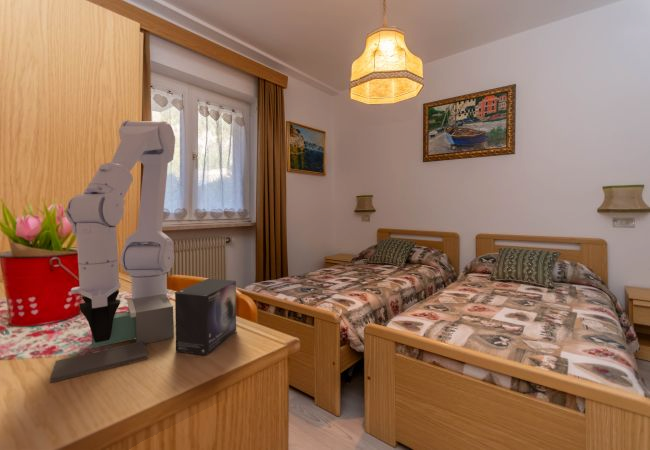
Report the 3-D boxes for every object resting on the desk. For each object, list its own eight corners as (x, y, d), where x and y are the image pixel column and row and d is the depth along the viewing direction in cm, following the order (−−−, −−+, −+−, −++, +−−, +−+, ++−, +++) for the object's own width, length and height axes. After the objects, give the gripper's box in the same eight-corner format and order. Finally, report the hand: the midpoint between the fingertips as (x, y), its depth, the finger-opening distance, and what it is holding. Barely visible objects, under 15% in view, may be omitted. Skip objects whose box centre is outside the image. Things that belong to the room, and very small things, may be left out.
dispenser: (128, 328, 63) (127, 299, 62) (166, 321, 67) (165, 293, 66) (131, 346, 55) (130, 313, 55) (174, 337, 59) (172, 305, 58)
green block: (93, 343, 57) (91, 317, 56) (155, 330, 62) (154, 307, 62) (92, 348, 55) (91, 322, 54) (156, 334, 60) (155, 310, 60)
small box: (208, 356, 52) (207, 295, 51) (173, 352, 53) (171, 292, 52) (238, 330, 62) (237, 279, 61) (209, 328, 63) (207, 277, 63)
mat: (56, 364, 49) (55, 360, 49) (143, 344, 56) (143, 341, 56) (50, 382, 44) (50, 378, 44) (147, 358, 51) (147, 354, 51)
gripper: (73, 257, 59) (77, 327, 60) (65, 271, 47) (70, 358, 48) (117, 253, 63) (121, 319, 64) (120, 266, 51) (124, 346, 52)
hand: (102, 335), depth 56 cm, fingers open, 5 cm apart
